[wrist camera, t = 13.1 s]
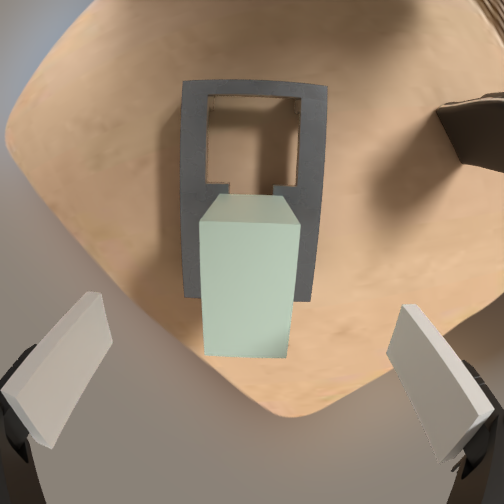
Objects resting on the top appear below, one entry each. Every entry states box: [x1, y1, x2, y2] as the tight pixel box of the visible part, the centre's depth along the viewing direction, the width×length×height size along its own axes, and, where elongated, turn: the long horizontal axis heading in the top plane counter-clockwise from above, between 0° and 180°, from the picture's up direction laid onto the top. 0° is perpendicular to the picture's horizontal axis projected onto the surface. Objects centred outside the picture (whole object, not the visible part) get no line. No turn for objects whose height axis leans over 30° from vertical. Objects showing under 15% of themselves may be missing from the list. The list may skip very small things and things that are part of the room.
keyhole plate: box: [180, 80, 328, 302], centre depth 24 cm, size 18×11×4 cm, turn 178°
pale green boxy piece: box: [199, 194, 301, 358], centre depth 21 cm, size 8×6×12 cm
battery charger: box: [437, 92, 504, 173], centre depth 18 cm, size 7×4×11 cm, turn 38°
